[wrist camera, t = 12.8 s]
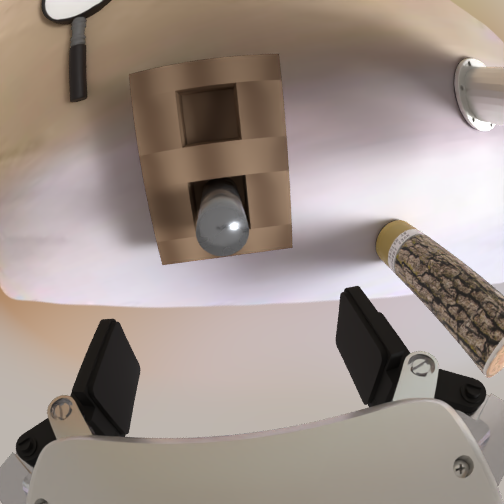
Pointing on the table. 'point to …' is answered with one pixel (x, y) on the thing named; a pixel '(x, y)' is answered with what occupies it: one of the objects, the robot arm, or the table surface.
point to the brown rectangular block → (213, 148)
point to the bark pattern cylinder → (448, 292)
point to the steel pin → (221, 218)
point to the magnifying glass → (74, 37)
